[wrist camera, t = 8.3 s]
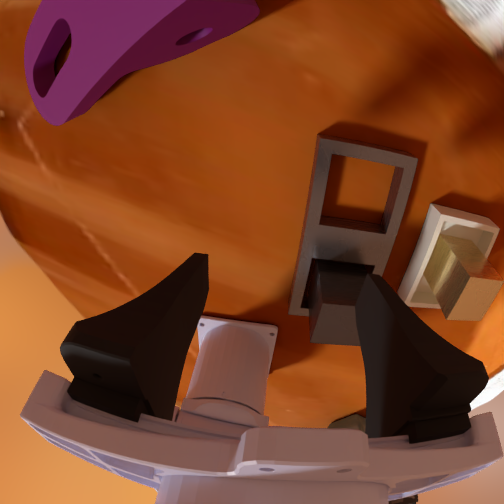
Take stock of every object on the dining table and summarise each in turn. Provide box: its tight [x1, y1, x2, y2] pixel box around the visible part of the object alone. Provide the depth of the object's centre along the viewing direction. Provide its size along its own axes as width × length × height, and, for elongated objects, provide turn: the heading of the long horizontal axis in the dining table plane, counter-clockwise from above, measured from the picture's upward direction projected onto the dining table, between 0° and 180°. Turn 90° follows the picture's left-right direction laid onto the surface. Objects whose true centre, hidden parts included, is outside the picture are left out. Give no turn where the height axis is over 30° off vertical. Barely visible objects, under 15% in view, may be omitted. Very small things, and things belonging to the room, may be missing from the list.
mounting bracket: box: [24, 0, 260, 126], centre depth 14 cm, size 10×8×18 cm
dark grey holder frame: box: [288, 134, 418, 316], centre depth 22 cm, size 15×7×2 cm, turn 176°
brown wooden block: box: [423, 234, 504, 321], centre depth 19 cm, size 4×4×6 cm
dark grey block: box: [308, 258, 367, 346], centre depth 22 cm, size 4×4×6 cm
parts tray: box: [397, 203, 500, 309], centre depth 21 cm, size 9×7×2 cm
